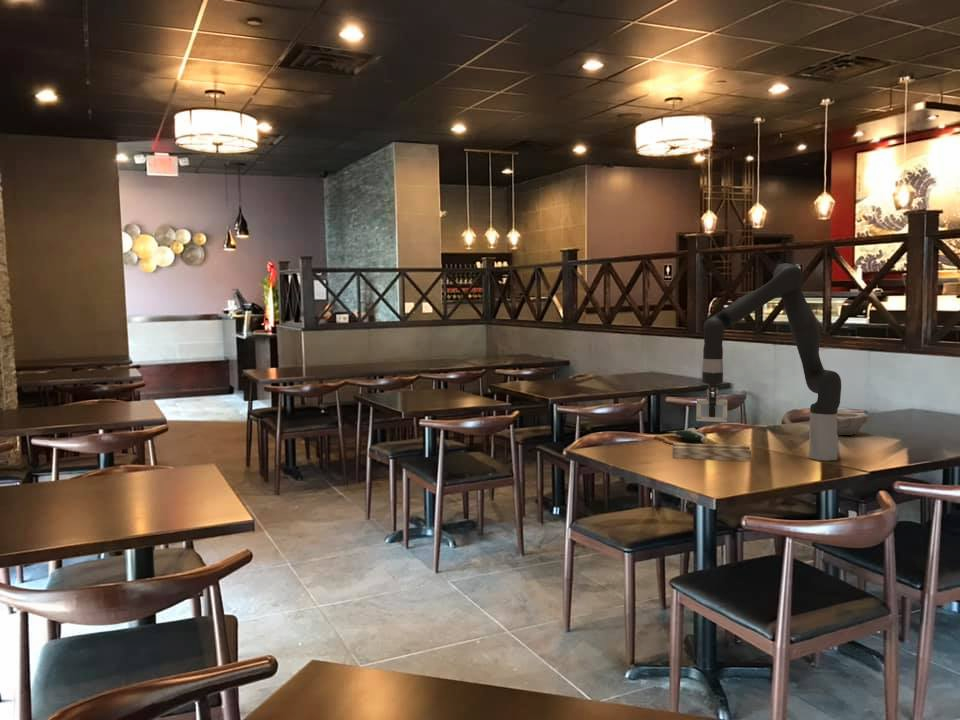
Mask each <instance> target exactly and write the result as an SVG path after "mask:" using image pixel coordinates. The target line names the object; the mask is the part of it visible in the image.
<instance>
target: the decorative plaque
mask: <svg viewBox="0 0 960 720" xmlns="http://www.w3.org/2000/svg"><path fill="white" fill-rule="evenodd" d="M653 440H655V441H658V442H662V441H663V442H662V443H663V444H664V443H666V444H669V445H673V443H685V444H710V445H725V443H723V442H719V441H715V440H714V439H712V438H709V437H706V436H705V435H704V434H703V433H701V432H698V431H697V429H696V428H695V427H689V428H687V429H683V430H682V429H681V430H668V431H666V433H664V434H663V433H662V434H659V435H657V434H656V435H655V436H653ZM666 444H665V445H666ZM669 445H668V446H669Z"/></svg>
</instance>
